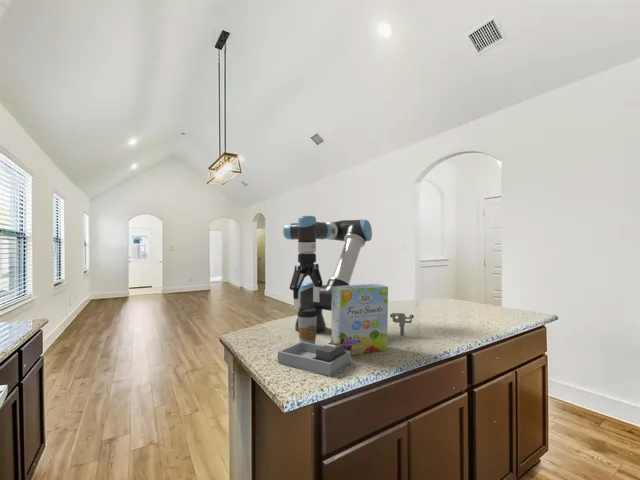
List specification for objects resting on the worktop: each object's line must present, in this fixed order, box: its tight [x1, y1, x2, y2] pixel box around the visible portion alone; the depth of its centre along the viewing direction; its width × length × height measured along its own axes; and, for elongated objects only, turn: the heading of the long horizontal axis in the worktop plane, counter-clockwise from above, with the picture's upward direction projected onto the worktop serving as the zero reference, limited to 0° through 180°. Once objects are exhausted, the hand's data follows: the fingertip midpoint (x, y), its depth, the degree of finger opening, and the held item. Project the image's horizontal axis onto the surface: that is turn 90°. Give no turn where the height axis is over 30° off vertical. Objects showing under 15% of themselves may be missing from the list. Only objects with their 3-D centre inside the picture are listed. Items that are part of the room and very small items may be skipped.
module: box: [316, 341, 344, 363], centre depth 111 cm, size 5×10×7 cm, turn 147°
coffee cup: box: [296, 308, 317, 344], centre depth 134 cm, size 8×8×15 cm
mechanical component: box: [389, 312, 414, 337], centre depth 147 cm, size 3×10×10 cm, turn 79°
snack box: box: [330, 283, 389, 356], centre depth 127 cm, size 22×9×26 cm, turn 113°
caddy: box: [277, 341, 352, 377], centre depth 115 cm, size 22×14×4 cm, turn 57°
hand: (307, 304), depth 134 cm, fingers open, 13 cm apart
